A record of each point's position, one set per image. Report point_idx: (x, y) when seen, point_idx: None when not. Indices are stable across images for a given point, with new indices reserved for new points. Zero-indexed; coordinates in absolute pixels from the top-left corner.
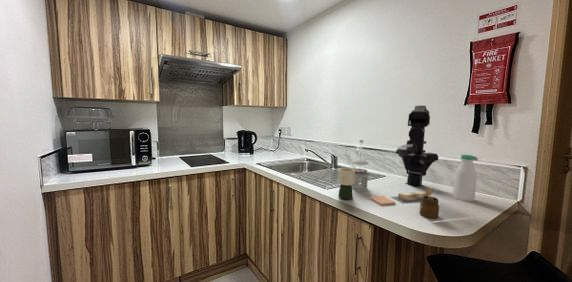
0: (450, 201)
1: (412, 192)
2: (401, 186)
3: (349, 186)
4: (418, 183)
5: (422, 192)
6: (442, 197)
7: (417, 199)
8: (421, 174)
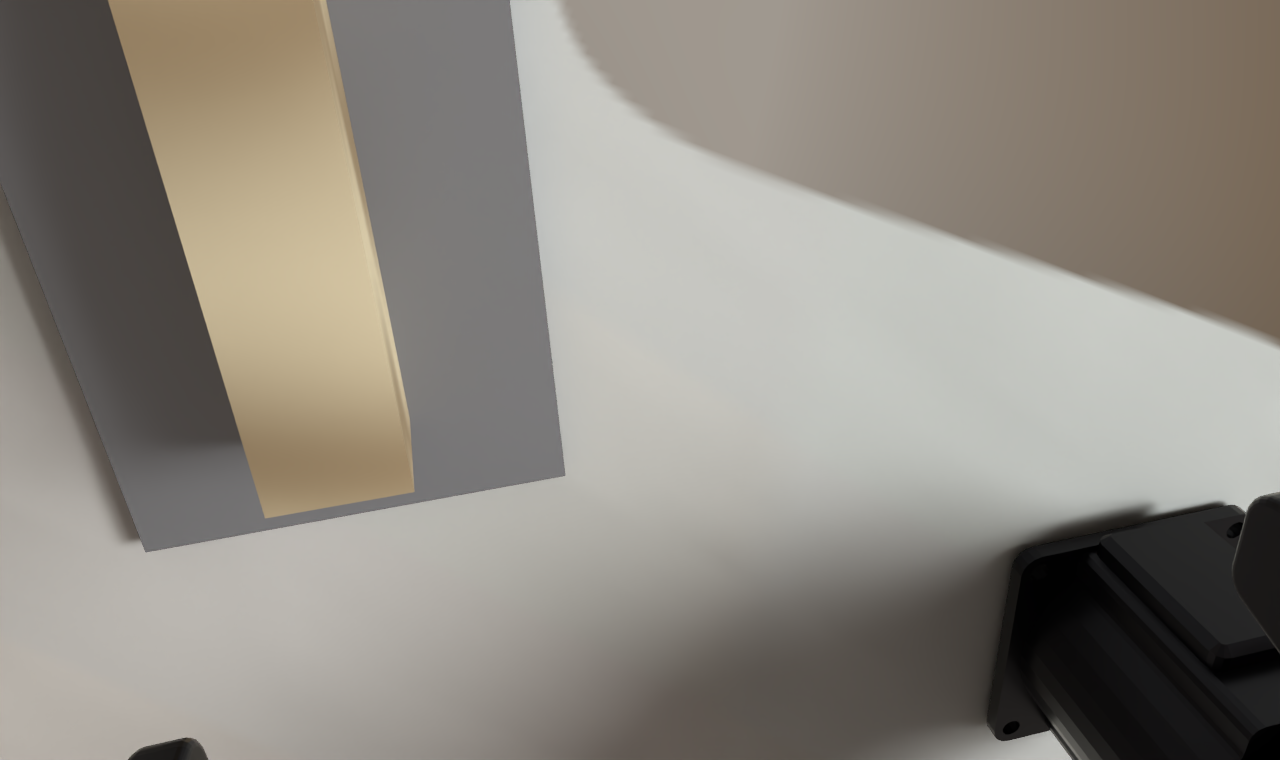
0: None
1: (321, 77)
2: (1156, 340)
3: None
4: (1051, 683)
5: (327, 383)
6: (402, 727)
7: None
8: (163, 747)
